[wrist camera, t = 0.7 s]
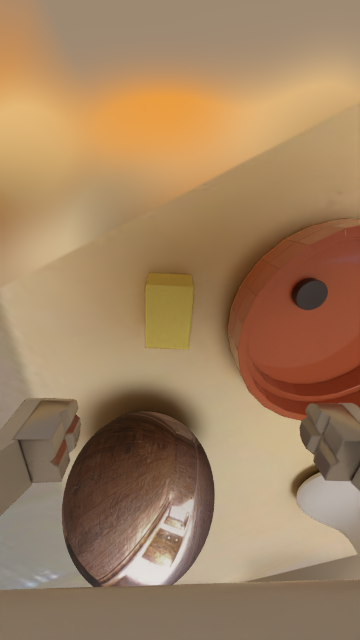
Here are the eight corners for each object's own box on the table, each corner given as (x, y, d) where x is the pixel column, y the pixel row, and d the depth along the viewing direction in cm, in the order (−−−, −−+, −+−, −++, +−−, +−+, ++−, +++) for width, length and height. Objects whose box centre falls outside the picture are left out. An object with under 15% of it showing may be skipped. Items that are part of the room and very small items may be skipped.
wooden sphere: (224, 404, 30) (267, 564, 17) (177, 473, 36) (181, 635, 22) (110, 368, 27) (49, 526, 14) (78, 449, 33) (13, 619, 19)
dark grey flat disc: (295, 276, 22) (301, 279, 22) (326, 278, 23) (332, 281, 22) (288, 306, 24) (292, 309, 23) (316, 307, 24) (322, 311, 23)
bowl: (243, 211, 21) (264, 212, 16) (452, 225, 22) (526, 230, 17) (215, 387, 29) (224, 420, 24) (367, 390, 30) (403, 423, 25)
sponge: (149, 272, 23) (145, 284, 19) (190, 274, 23) (194, 286, 19) (148, 328, 25) (145, 348, 22) (186, 329, 25) (188, 349, 22)
